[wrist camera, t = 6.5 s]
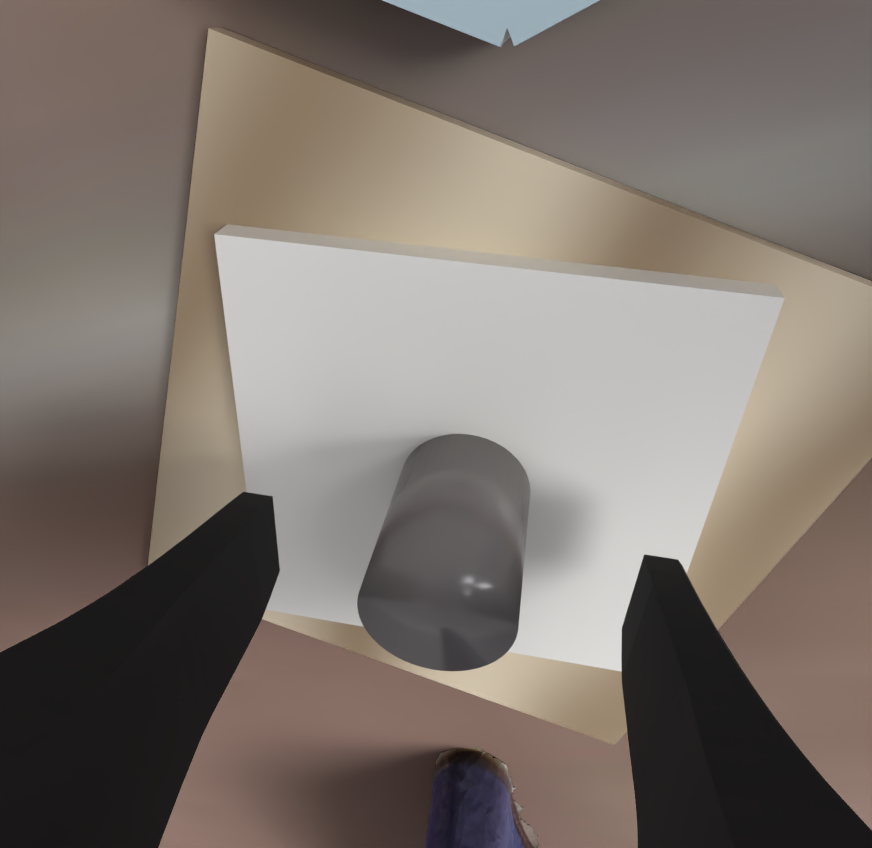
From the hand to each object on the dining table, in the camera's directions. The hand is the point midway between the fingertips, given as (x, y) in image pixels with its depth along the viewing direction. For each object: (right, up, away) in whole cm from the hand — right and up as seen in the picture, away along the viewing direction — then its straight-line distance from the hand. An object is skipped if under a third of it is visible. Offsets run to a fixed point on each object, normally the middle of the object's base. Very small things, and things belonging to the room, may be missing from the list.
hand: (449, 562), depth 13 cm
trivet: (+1, +2, +2) cm, 3 cm away
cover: (0, +2, +2) cm, 3 cm away
